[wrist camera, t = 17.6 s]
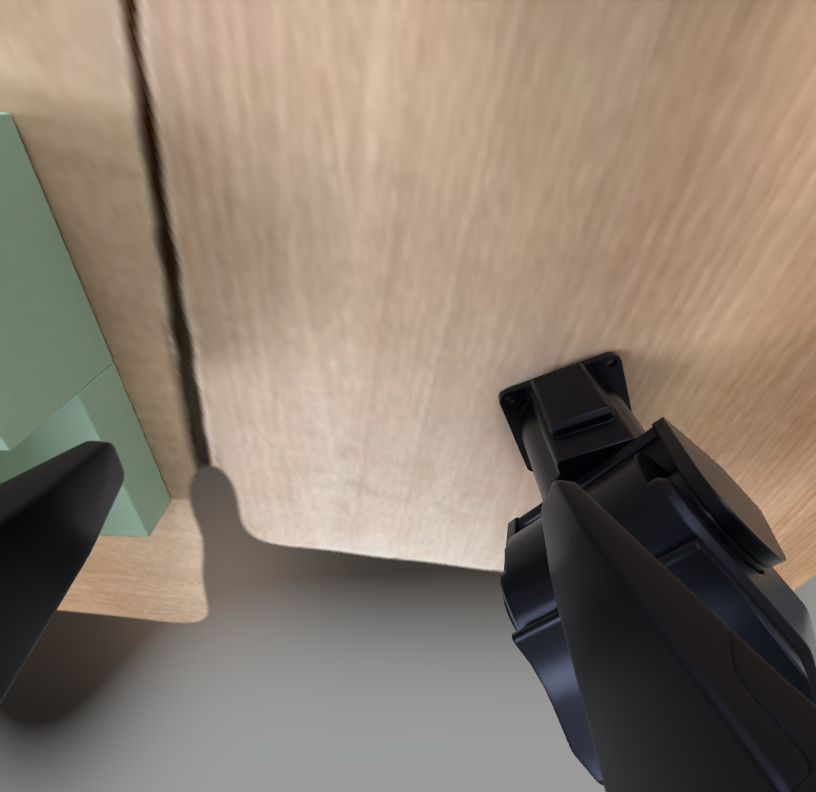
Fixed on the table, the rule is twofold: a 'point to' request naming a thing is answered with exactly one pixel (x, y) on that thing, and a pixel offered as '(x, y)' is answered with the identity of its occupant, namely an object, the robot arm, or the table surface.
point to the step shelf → (59, 354)
